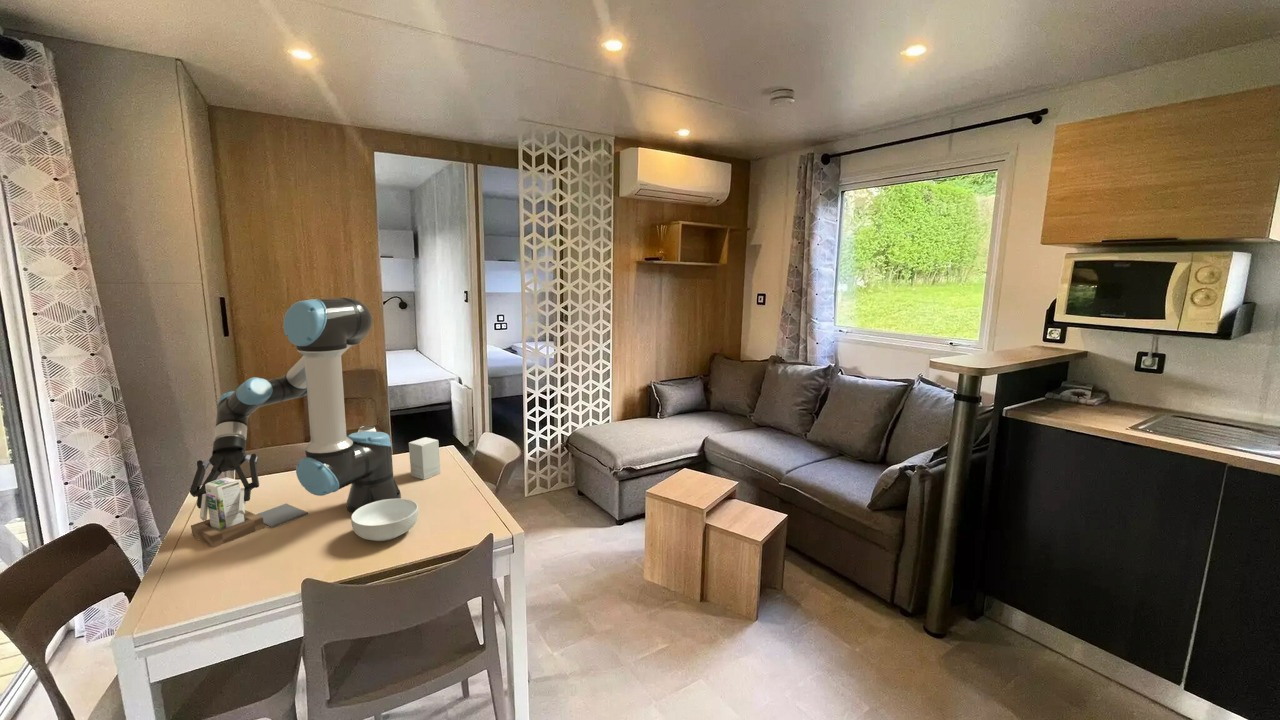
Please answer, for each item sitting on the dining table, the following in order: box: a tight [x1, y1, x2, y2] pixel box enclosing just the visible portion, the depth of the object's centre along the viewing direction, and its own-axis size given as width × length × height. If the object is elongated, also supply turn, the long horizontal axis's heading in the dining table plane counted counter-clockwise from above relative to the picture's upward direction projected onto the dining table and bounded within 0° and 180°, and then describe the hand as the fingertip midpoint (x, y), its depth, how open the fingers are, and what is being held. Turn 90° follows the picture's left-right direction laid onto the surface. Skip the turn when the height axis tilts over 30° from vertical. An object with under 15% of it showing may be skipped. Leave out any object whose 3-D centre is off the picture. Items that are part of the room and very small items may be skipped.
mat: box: [255, 503, 309, 529], centre depth 153 cm, size 12×10×1 cm
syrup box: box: [205, 476, 244, 531], centre depth 142 cm, size 6×6×14 cm
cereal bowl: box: [350, 498, 419, 542], centre depth 143 cm, size 17×17×7 cm
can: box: [357, 425, 377, 432], centre depth 201 cm, size 6×6×12 cm
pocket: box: [190, 509, 265, 549], centre depth 143 cm, size 12×12×3 cm
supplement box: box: [408, 437, 441, 480], centre depth 184 cm, size 7×7×13 cm
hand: (222, 515), depth 139 cm, fingers closed on syrup box, 8 cm apart
